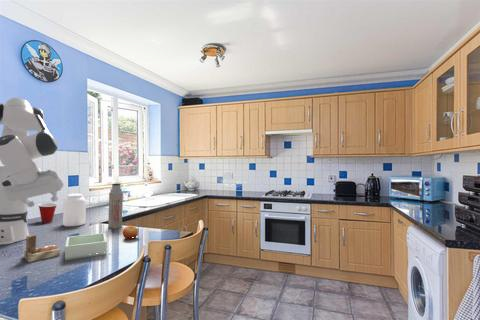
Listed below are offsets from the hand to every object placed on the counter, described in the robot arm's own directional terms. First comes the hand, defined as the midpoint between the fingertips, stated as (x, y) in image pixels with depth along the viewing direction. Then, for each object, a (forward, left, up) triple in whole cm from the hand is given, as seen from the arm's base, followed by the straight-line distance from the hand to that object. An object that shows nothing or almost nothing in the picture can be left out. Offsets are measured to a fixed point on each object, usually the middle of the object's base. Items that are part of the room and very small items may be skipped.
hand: (43, 203), depth 109 cm
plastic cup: (-7, +84, -25) cm, 88 cm away
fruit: (+37, +20, -25) cm, 49 cm away
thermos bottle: (+32, +50, -25) cm, 64 cm away
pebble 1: (-2, +9, -23) cm, 25 cm away
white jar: (+9, +68, -25) cm, 73 cm away
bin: (+16, +7, -25) cm, 30 cm away
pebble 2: (+2, +10, -24) cm, 26 cm away
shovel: (-1, +9, -25) cm, 27 cm away
